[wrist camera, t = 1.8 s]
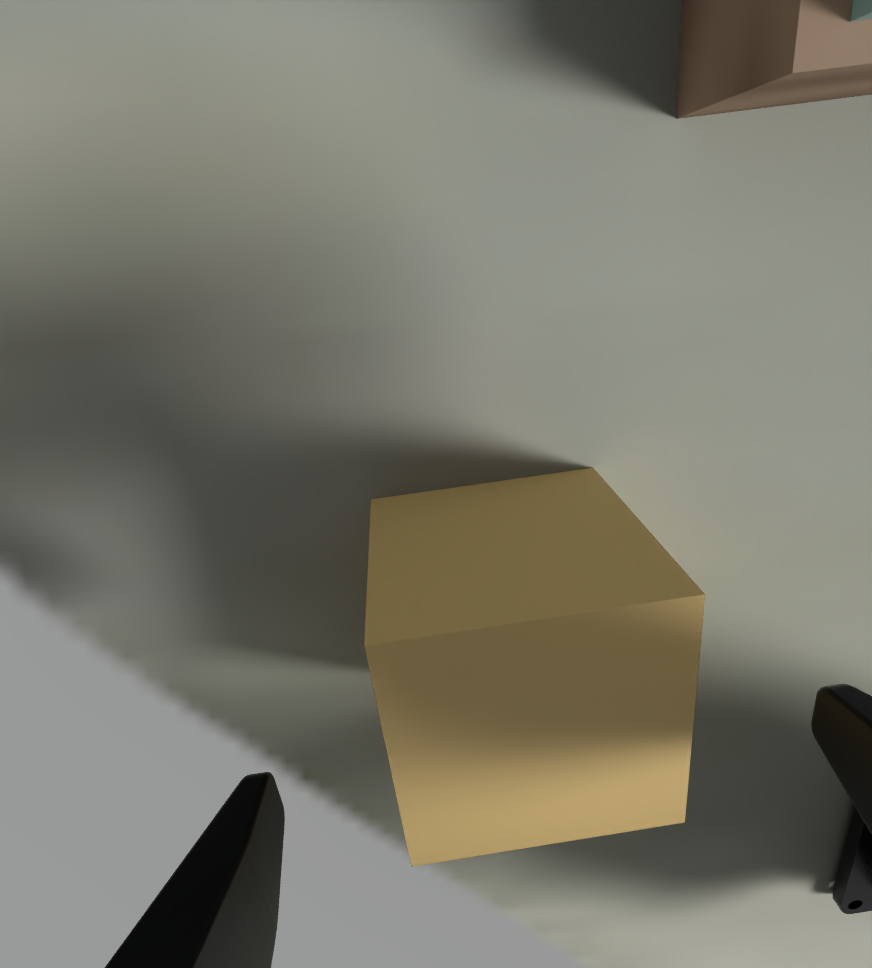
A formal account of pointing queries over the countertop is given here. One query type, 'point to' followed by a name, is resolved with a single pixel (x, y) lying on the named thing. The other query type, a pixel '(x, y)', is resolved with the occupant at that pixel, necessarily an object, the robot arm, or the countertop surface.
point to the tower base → (770, 54)
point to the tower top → (861, 10)
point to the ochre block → (529, 665)
